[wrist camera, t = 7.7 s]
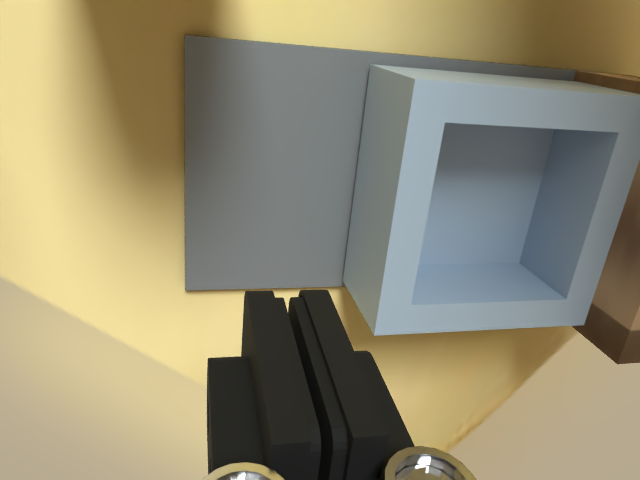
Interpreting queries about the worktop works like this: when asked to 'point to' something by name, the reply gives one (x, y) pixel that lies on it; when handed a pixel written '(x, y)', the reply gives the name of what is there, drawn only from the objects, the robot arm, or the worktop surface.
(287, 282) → the mat
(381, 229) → the holder
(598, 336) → the backstop
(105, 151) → the worktop surface
